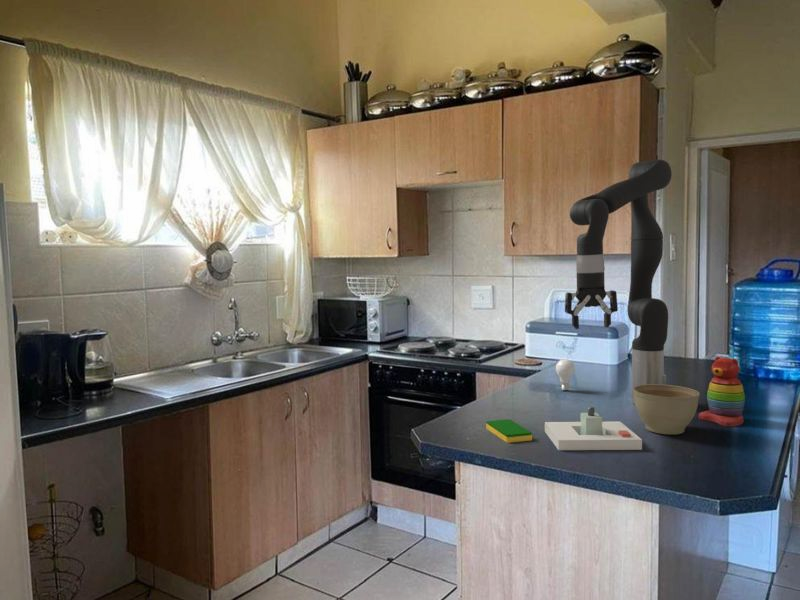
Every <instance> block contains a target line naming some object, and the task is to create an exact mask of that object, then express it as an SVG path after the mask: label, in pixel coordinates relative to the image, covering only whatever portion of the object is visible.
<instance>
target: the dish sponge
mask: <svg viewBox="0 0 800 600" xmlns="http://www.w3.org/2000/svg"><path fill="white" fill-rule="evenodd" d="M485 426H486V427H485V428H486V430H488V431H489V432H491V433H492V434H493V435H495V436H497V437H498V438H500V439H501V440H502V441H504V442H505V443H509V444H510V443H519V442H528V441H529V442H530V441H532V440H533V435H532V434H533V432H532V431H530V430H529V429H528V428H525V427H523V426H522V425H520V424H519V423H518V422H517V423H516V422H515V421H513V420H512V419H510V418H509V419H508V418H507V419H496V420H486V425H485Z"/></svg>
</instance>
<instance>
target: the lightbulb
mask: <svg viewBox="0 0 800 600" xmlns="http://www.w3.org/2000/svg"><path fill="white" fill-rule="evenodd" d="M575 370H576V369H575V365H574V363H573V362H572V361H571V360H569V359H566V358H565V359H560V360H558V362H557V363H556V365H555V371H556V373H557V376H558V377H559V381H560V384H561V385H560V387H561V390H562V391H564V392H567V391H569V390H570V382H571V378H572V376H573V375H574V373H575Z"/></svg>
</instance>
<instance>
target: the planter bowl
mask: <svg viewBox="0 0 800 600" xmlns="http://www.w3.org/2000/svg"><path fill="white" fill-rule="evenodd" d="M633 392H634V400H635V404H634V405H635V408H636V411H637V413H638V415H639V417H640V419H641V420H642V421H643V423H644V426H645V429H646V430H648V431H650V432H652V433H656V434H662V435H671V436H673V435H680V434H683V433H685V430H686V427H687V426H688V425H689V424H690V423H691V422H692V420H693V418H695V414H696V413H697V409H698V405H699V398H700V392H699V391H698V390H696V389H693V388H689V387H684V386H680V385H679V386H678V385H671V384H666V385H659V384H647V385H639V386H636V387H634V388H633Z"/></svg>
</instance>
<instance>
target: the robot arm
mask: <svg viewBox="0 0 800 600" xmlns="http://www.w3.org/2000/svg"><path fill="white" fill-rule="evenodd" d="M671 168H672V167H671V166H670V164H669V162H668V161H666V160H664V159H651V160H645V161H643V160H642V161H638V162H635V163H633V164H632V165H631V167H630V168H629V172H628V179H624V180H621V181H618V182H616V183H613V184H611V185H609V186H607V187H606V188H604V189H602V190H601V191H599V192H597V193H595V194H592V195H589V196H586V197H583V198H581V199H579V200H576V202H574V203H573V204H572V206H571V208H570V209H569V218H570V221H571V222H572V223H573V224H575V225H578V226H588V229H587V231H586V232H585V233H582V234H580V235H578V236H577V238H576V266H575V267H576V268H575V269H576V270H575V271H576V291H575V292H568V291H567V292H565V299H564V301H565V302H564V312H565V313H566V314H567V315H571V324H572V327H573V328H574V329H575V330H579V329H580V325H579V324H580V320H579V319H580V318H579V317H580V316H579V314H580V312H581V311H582V310H583V309H584V307H585V308H590V307H595V308H596V307H597V308H598V307H599V308H600V309H601V310H602V311H603V312H604V313H603V327H604V328H609V327H610V326H611V324H612V314H613V313H615V312H618V311H619V310H618V298H617V297H618V296H617V291H616V290H614V289H613V290H612V289H610V290H608V291H606V288H605V270H606V269H605V260H604V244H603V243H604V238H605V237H604V236H605V233H606V227H607V224H608V221H609V216H610V214H612V213H614V212H616V211H617V210H619V209H621V208H623V207H624V206H626V205H628V204H629V203H630V215H631V217H630V219H631V222H630V223H631V226H630V227H631V231H630V233H631V234H630V284H629V291H628V292H629V293H628V300H627V301H628V302H627V315H628V319H629V321H630V323H632V324H633V325H635V326H639V327H640V328H639V329H640V331H639V335H638V337H636V338H634V339H633V340H632V341H631V348H632V349H631V403H632V404H633V405H635V400H634V392H633V388H634V387H636V386H639V385H647V384H659V385H667V375H666V374H665V373H664V371H665V370H664V369H665V368H664V367H665V366H664V362H665V361H664V359H665V357H664V355H665V344H666V342H667V338H668V328H669V327H668V326H669V310H668V307H667V304H666V303H665V302H664V301H663V300H661V299H660V298H654V297H653V296H652V293H653V292H652V291H653V280H654V277H655V274H656V273H657V270H658V268H659V266H660V264H661V261H662V258H663V252H664V235H663V234H664V233H663V230H662V228H661V226H660V225H659V223H658V221H657V220H656V218H655V217H654V215H653V213H652V211H651V208H650V206H649V198H648V194H650V193H653V192H656V191H660V190H662V189H665V188H666V187H667V186H669V184H670V182H671V179H672V169H671ZM606 296H607V297H606ZM575 298H576V299H577V300H578V301H577V303H576V304H575V306H574V307H573V306H572V304H573V301H574V299H575ZM605 298H608V299H609V305H610V307H609V306H608V305H607V304H606V302H605V301H604V299H605ZM572 308H573V309H572Z"/></svg>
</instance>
